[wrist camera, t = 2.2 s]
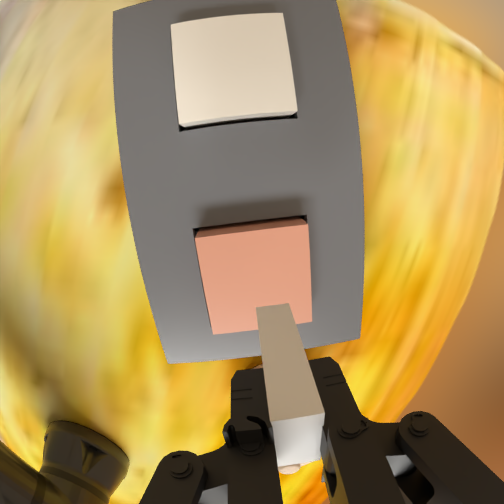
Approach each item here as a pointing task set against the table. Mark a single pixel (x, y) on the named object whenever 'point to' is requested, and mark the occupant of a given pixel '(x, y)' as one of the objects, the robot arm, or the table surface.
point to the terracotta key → (254, 270)
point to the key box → (240, 172)
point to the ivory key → (232, 70)
